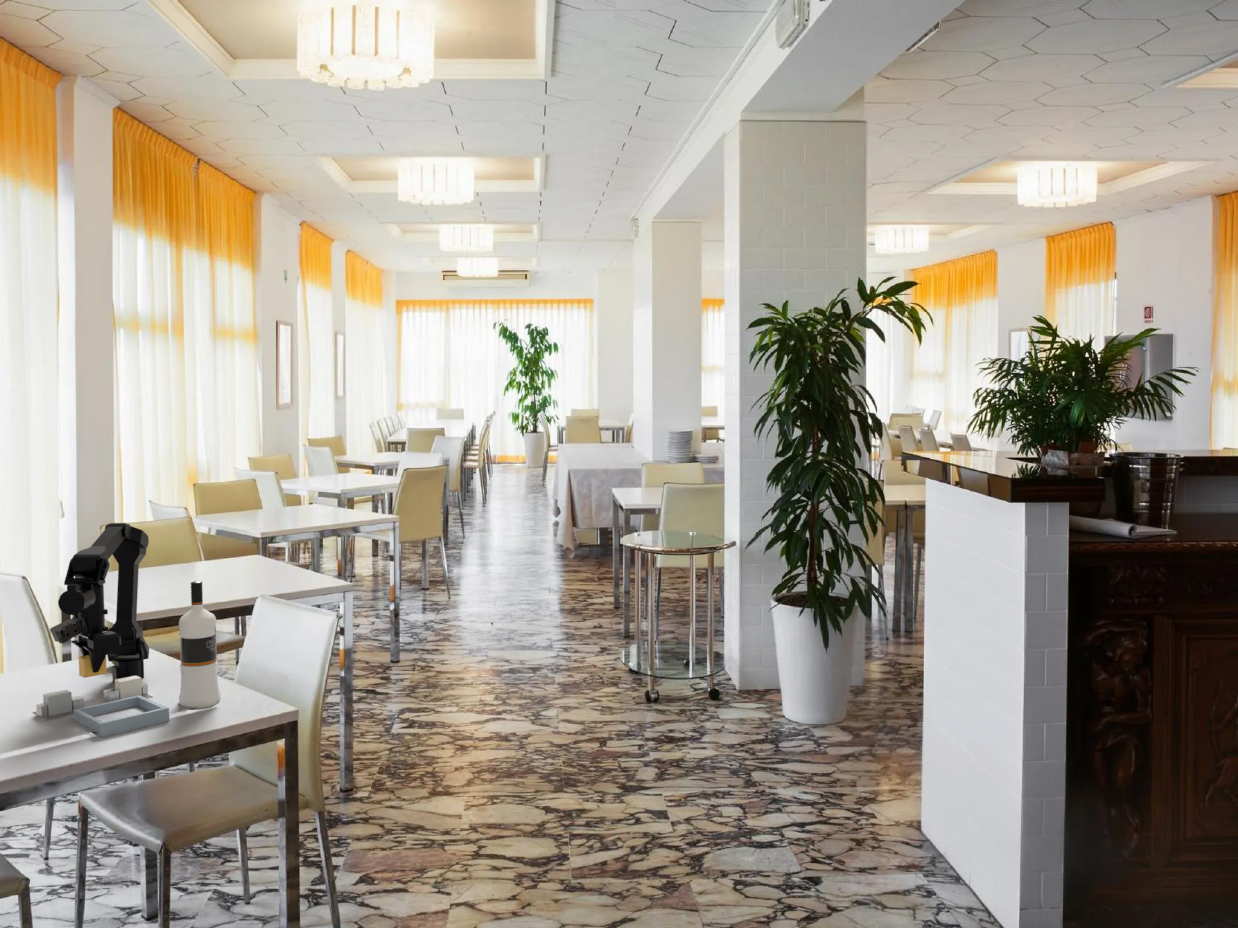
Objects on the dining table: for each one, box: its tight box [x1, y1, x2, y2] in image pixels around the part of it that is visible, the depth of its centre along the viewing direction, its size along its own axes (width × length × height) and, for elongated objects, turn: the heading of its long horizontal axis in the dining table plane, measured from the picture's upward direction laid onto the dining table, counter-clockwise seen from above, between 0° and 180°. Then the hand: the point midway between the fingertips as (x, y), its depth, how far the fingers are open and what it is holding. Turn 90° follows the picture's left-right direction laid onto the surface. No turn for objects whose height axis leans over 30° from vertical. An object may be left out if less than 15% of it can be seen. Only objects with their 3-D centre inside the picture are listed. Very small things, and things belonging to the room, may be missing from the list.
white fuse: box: [114, 676, 142, 700], centre depth 247 cm, size 5×3×4 cm, turn 139°
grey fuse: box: [42, 689, 73, 716], centre depth 235 cm, size 5×3×4 cm, turn 139°
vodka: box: [178, 580, 221, 711], centre depth 243 cm, size 9×9×30 cm
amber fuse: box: [78, 655, 107, 679], centre depth 240 cm, size 5×3×4 cm, turn 139°
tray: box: [72, 695, 170, 738], centre depth 231 cm, size 15×15×3 cm
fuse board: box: [31, 681, 154, 721], centre depth 241 cm, size 24×9×4 cm, turn 139°
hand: (92, 670), depth 240 cm, fingers closed on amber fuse, 3 cm apart
